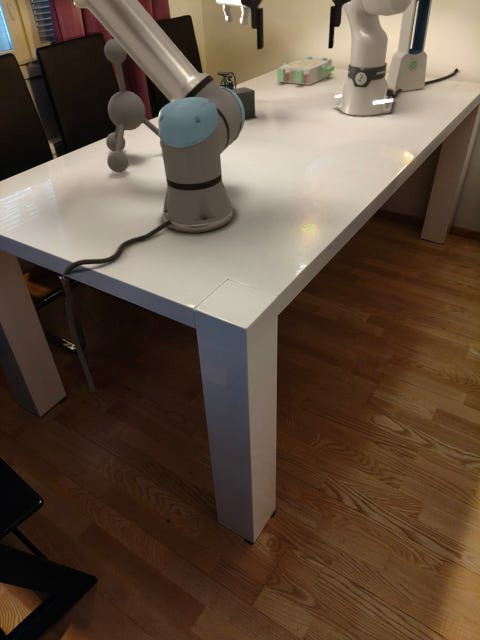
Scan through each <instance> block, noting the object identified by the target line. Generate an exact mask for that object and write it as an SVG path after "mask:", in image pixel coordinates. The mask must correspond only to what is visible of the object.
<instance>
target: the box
mask: <svg viewBox="0 0 480 640" xmlns="http://www.w3.org/2000/svg"><path fill="white" fill-rule="evenodd" d="M232 91H233V92H234V93H235V94H236V95H237V96H238V97H239V98H240V100H241V102H242V104H243V107H244V112H245V121H248V120H252V119H256V94H255V93H256V92H255V90H254V89H252V88H249V87H246V86H243V87H238V88H237V87H236V89H235V88H234V89H232Z"/></svg>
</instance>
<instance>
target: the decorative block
mask: <svg viewBox="0 0 480 640" xmlns="http://www.w3.org/2000/svg"><path fill="white" fill-rule="evenodd" d="M335 67H336V66H335V65H333V58H327V57H322V58H320V57H312V56H308V57H306V58H303V59H297V60H295V61H292V62H287V61H286V62H282V65H281V66H279V68H277V71H276V72H277V77H276V78H277V80H276V81H277V82H279V83H288V84H298V85H307V86H311V85H312V84H315V83H317V82H320V81H322V80H324V79H326V78H328V77H329V76H330V75H331V74H332V72H333V71H335Z"/></svg>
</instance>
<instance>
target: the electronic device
mask: <svg viewBox="0 0 480 640" xmlns="http://www.w3.org/2000/svg"><path fill="white" fill-rule="evenodd" d="M432 3H433V0H412V1H411V3H410V5H409V7H408V8H407V9H406V10H405V11H404V12H402V16H401V23H400V31H399V39H398V46H397V50H396V51H395V53H393V55H392V57H391V62H390V65H389V69H388V73H387V77H386V81H387V84H388V89H391V90H393V92H396V91H397V90H399V89H402V91H401V92H407V91H417V90H422V89H423V87H424V86H425V85H426V84H425V82H426V73H427V63H428V62H427V61H428V54H427V52H425V47H426V40H427V35H428V27H429V22H430V16H431V10H432Z"/></svg>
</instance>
